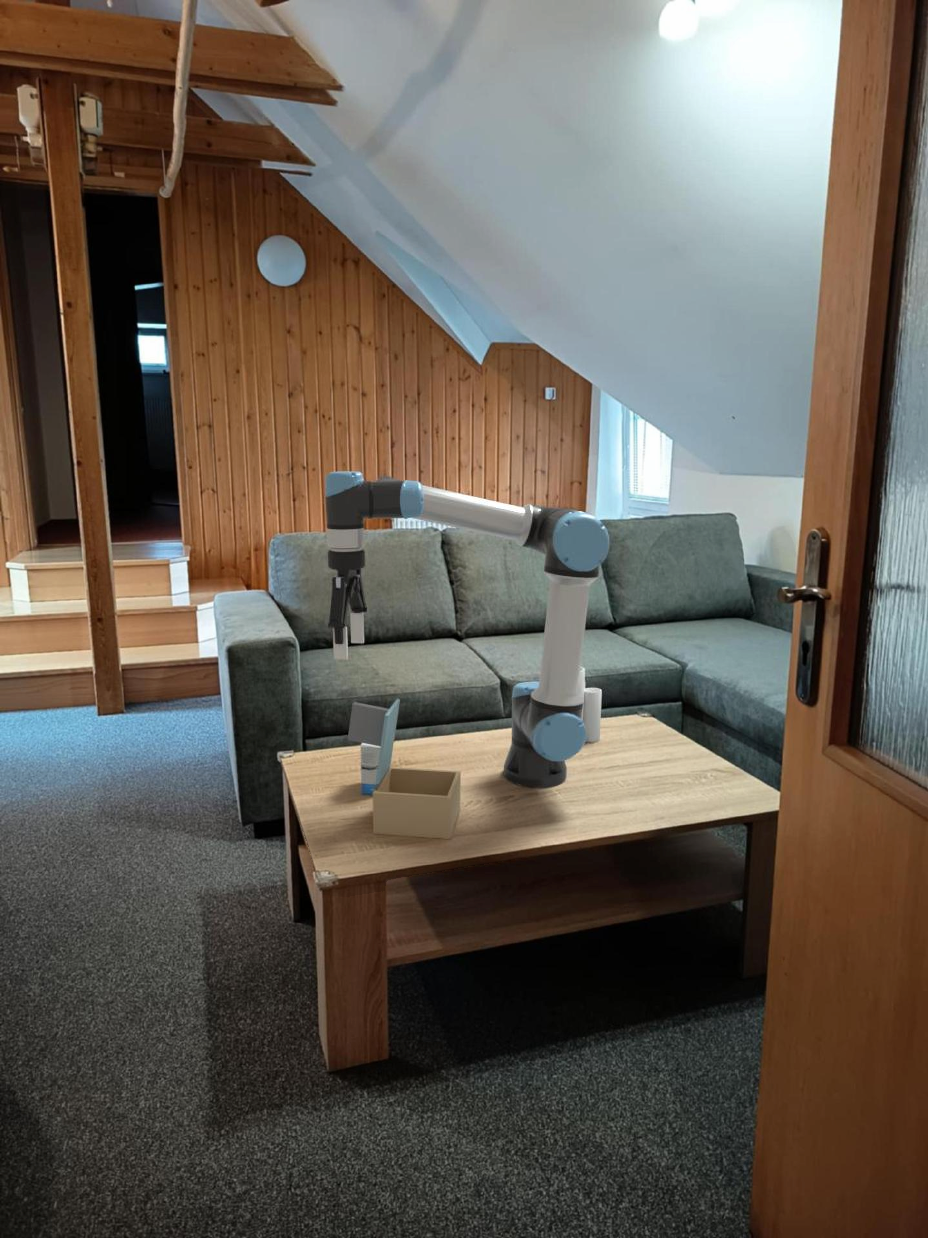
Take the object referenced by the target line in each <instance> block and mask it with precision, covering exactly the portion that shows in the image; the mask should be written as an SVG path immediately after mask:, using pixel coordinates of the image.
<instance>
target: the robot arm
mask: <svg viewBox="0 0 928 1238" xmlns="http://www.w3.org/2000/svg"><path fill="white" fill-rule="evenodd" d="M324 482H325V484H324V485H325V486H324V489H325V491H324V496H325V497H324V499H325V502H324V503H325V515H326V516H325V518H326V531H325V532H324V537H326V539H327V541H326V542H327V543H326V544H327V547H328V548H329V550H328V551H327V566H328V569H330V570H335V571H337V576H333V577H332V578H331V579H332V580H331V585H332V586H331V588H332V589H331V590H332V591H331V600H330V611H329V618H328V619H329V620H328V623H327V627H328V628H329V629H332V640H333V641H332V644H333V647H332V648H333V660H348V659H349V651H348V650H349V649H348V645H349V643H348V642H349V641H348V627H347V626H346V624H347V623H346V622H347V618H348V617H347V616H348V612H349V611H348V610H349V606H350V610H351V612H350V613H349V616H350V617H349V619H350V643H351V644H364V643H365V627H364V626H365V624H364V621H365V620H364V619H365V618H364V613H367V612H368V607H367V603H366V598H365V592H364V585H363V580H362V570H363V569H364V568H365V567H366V551H365V549H364V548H365V546H366V539H365V537H366V536H365V535H366V534H365V520H366V519H367V520H373V519H404V520H408V519H413V520H414V519H415V520H418V521H423V522H429V523H434V524H437V525H443V526H446V527H450V528H456V529H461V530H465V531H470V532H475V533H480V534H483V535H484V534H485V535H488V536H492V537H493V536H494V537H498V538H501V539H502V538H503V539H507V540H512V541H515V542H516V544H517V545H518V546H519V547H523V548H527V549H531V550H534V551H537V552H538V553H541V554H543V555H545V556H544V557H545V558H544V565H543V566H544V568H543V573H544V574H545V575H546V577H547V578H548V579H549V586H548V587H549V589H548V597H547V605H546V615H545V616H546V617H545V624H544V625H545V626H544V635H543V644H542V653H541V660H540V661H541V663H540V668H539V669H540V670H539V679H538V681H537V680H534V681H525V682H524V681H523V682H519V683H517V684H514V686H513V688H512V695H511V701H512V702H511V704H512V705H511V745H510V747H509V750H508V752H507V755H506V757H505V762H504V764H503V776H504V778H505V779H506V780H507V781H509V782H510V783H512V784H515V785H518V786H522V787H527V788H528V787H529V788H548V787H553V786H554V787H555V786H556V785H559V784H561V783H563V782H564V781H566V779H567V777H568V776H567V770H568V769H567V768H568V767H567V764H566V762H565V761H567V760H570V759H571V758H573V757H575V755H577V754H579V752H580V751H582V750H583V748H584V745H585V744H586V742H585V741H586V728H585V724H584V723H583V721H582V720H581V718H582V710H583V698H582V697H581V695H580V694H579V693H578V683H579V675H580V667H582V666H581V665H582V657H583V656H582V655H583V647H584V641H585V640H584V639H585V638H584V637H585V631H586V620H587V614H588V605H589V604H588V603H589V597H590V587H591V584H593V582H595V581H596V580H597V579H599V573H600V565H601V564H602V563H603V562H604V561H605V559H606V558H607V556H608V553H609V552H610V551H609V550H610V537H609V532H608V530H607V528H606V526H605V525H604V524H603V522H602V521H601V520H600V519H598V518H597V517H595V516H594V515H592V514H590V513H588V512H585V511H580V510H575V509H572V508H568V507H552V506H550V507H549V506H541V505H535V504H531V503H527V504H525V505H524V506H518V505H514V504H509V503H505V502H500V501H496V500H491V499H486V498H484V497H483V498H482V497H477V496H473V495H469V494H464V493H459V492H456V491H455V492H454V491H450V490H446V489H441V488H437V487H433V486H429V485H424V484H422V483H421V482H420V481H418V480H408V479H405V480H400V479H398V478H397V479H396V478H394V477H391V476H383V477H380V478H377V480H375V481H369V480H364V476H363V473H362V472H361V471H353V470H352V471H348V470H347V471H346V470H345V471H331V472H329V473H327V474H326V476H325V481H324Z"/></svg>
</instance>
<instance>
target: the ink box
mask: <svg viewBox="0 0 928 1238" xmlns="http://www.w3.org/2000/svg"><path fill="white" fill-rule="evenodd" d="M379 754H380V746H375V745H370V744H366V743H360V774H361V776H360V777H361V778H360V780H361V784H360V785H361V794H363V795H372V796H373V792H374V790H375V785H376V784H375V782H376V775H377V768H378V761H379Z"/></svg>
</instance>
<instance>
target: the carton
mask: <svg viewBox="0 0 928 1238" xmlns="http://www.w3.org/2000/svg"><path fill="white" fill-rule="evenodd" d="M461 774H462V773H461V771H459V770H447V769H446V770H443V769H427V768H412V767H411V768H410V767H396V766H390V769H389V771H388V773H387V775H386V776H385V778H384V780H383V781H382V783H381V785H380V786H379V788H378V789H377V790H376V789H375V790H374V792H373V795H372V822H373V823H372V824H373V835H383V836H384V835H387V836H398V837H399V836H400V837H412V838H425V839H441V840H442V839H443V840H451V839H452V836H453V833H454V830H455V827H456V824H457V821H458V818H459V815H460V812H461V784H462V783H461V782H462V781H461V779H462V778H461Z"/></svg>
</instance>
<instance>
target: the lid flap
mask: <svg viewBox="0 0 928 1238" xmlns="http://www.w3.org/2000/svg"><path fill="white" fill-rule="evenodd" d="M400 703H401V699H399V698H396V699H395V701H393V704H392V705H391V706H390V707H389V708H386V707H382V706H376V705H371V704H366V703H361V702H357V701H354V702H353V703H351V712H350V713H351V714H350V720H349V727H348V735H347V741H350V742H351V741H352V742H357V743H360V744H362V743H366V744H370V745H375V746H380V754H379V761H378V768H377V775H376V782H375V784H376V785H375V789H376V790H377V789H378V788H379V786H380V785H381V783H382V781H383V780H384V778H385V776H386V775H387V773H388V771H389V769H390V767H391V764H392V758H393V752H394V751H393V750H394V743H395V736H396V729H397V723H398V716H399V710H400Z"/></svg>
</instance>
